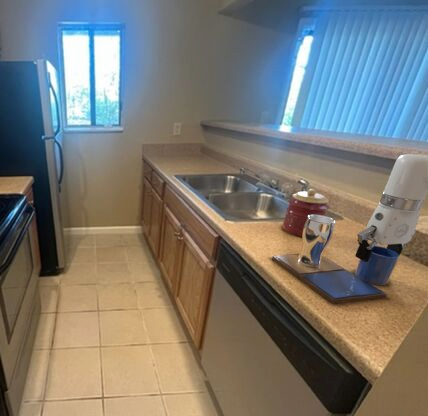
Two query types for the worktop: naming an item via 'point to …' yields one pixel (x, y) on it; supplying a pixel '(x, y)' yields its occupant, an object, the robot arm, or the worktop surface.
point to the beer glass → (315, 239)
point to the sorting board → (330, 280)
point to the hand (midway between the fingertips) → (376, 258)
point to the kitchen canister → (303, 210)
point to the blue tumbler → (378, 266)
